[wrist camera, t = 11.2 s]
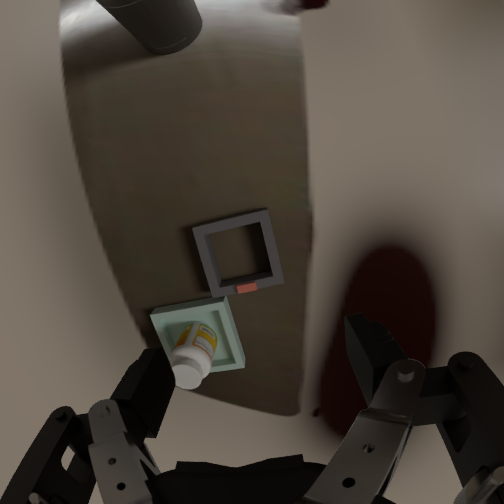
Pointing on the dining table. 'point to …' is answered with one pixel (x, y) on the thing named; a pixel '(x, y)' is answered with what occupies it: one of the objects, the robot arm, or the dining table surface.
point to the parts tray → (207, 311)
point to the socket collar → (246, 282)
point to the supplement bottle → (193, 354)
